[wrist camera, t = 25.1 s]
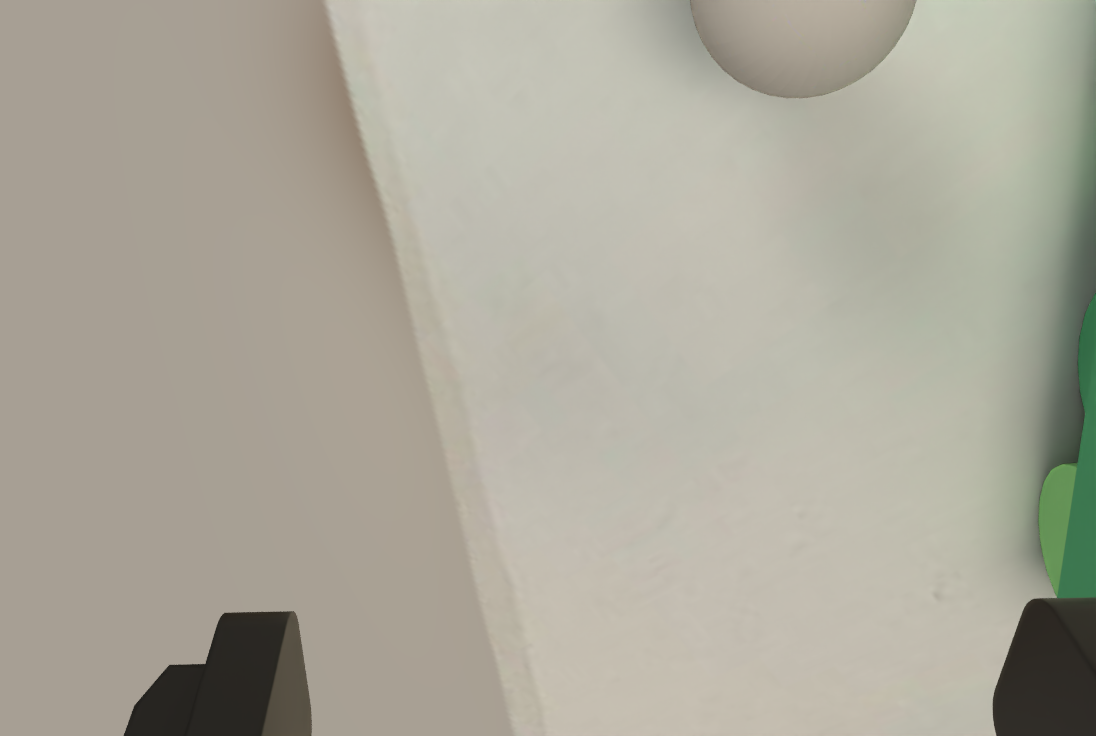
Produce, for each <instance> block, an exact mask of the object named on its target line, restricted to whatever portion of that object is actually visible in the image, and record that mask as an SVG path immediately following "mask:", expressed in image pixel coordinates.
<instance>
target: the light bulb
mask: <svg viewBox="0 0 1096 736" xmlns="http://www.w3.org/2000/svg"><path fill="white" fill-rule="evenodd" d="M690 1H691V10H692V14H693V18H694V22H695V26H696V28H697V31H698V33H699V35H700V38H701V40H702V42H703V44H704V45H705V47H706V49H707V50H708V52H709V53H710V55H711V57H712V58H713V59H714V60H715V61H716V62H717V63H718V64H719V66H720V67H721V68H722V69H723V70H724V71H725V72H727V73H728V74H729V75H730V76H732V77H733V78H734V79H735V80H737V81H738V82H740V83H742V84H744V85H745V86H747V87H749V88H751V89H753V90H756V91H759V92H762V93H764V94H767V95H772V96H778V97H784V98H808V97H814V96H820V95H824V94H828V93H831V92H834V91H837V90H840V89H842V88H844V87H846V86H848V85H850V84H852V83H854V82H856V81H857V80H859V79H860V78H862V77H863V76H865V75H866V74H868V73H869V72H871V71H872V70H873V69H874V68H875V67H876V66H877V65H878V64H879V63H880V62H881V61H883V60H884V59H885V57H886V56H887V55H888V54H889V53H890V51H891V50H892V49H893V48H894V47H895V45H896V44H897V42H898V41H899V39H900V37H901V36H902V34H903V32H904V31H905V29H906V27H907V25H908V22H909V20H910V18H911V16H912V14H913V10H914V7H915V3H916V0H690Z"/></svg>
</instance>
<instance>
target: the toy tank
mask: <svg viewBox="0 0 1096 736" xmlns="http://www.w3.org/2000/svg"><path fill="white" fill-rule="evenodd" d="M1078 373H1079V385H1080V394H1081V398H1082V402H1083V407H1084V411H1085V417H1084V424H1083V431H1082V437H1081V444H1080V450H1079V457H1078V463H1069V464H1061V465H1059V466H1057V467H1055V468H1053V469H1052V470H1051V471H1050V473H1049V474H1048V476H1047V478H1046V479H1045V481H1044V484H1043V488H1042V492H1041V496H1040V500H1039V520H1038V522H1039V532H1040V543H1041V549H1042V553H1043V557H1044V562H1045V566H1046V570H1047V573H1048V576H1049V578H1050V581H1051V584H1052V586H1053V589H1054V592H1055V594H1056V596H1057V598H1088V597H1096V293H1095V294H1094V296H1093V298H1092V300H1091V302H1090V304H1089V307H1088V309H1087V311H1086V313H1085V316H1084V320H1083V325H1082V329H1081V333H1080V337H1079V353H1078Z"/></svg>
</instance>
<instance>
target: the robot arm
mask: <svg viewBox="0 0 1096 736" xmlns="http://www.w3.org/2000/svg"><path fill="white" fill-rule="evenodd" d="M993 720H994V726H995V731H996V735H997V736H1096V597H1088V598H1040V599H1033V600H1031V601H1030V602H1028V603H1027V605H1026V606H1025V608H1024V610H1023V612H1022V615H1021V618H1020V621H1019V623H1018V626H1017V629H1016V632H1015V635H1014V638H1013V640H1012V643H1011V646H1010V649H1009V652H1008V654H1007V657H1006V660H1005V663H1004V666H1003V669H1002V671H1001V674H1000V677H999V680H998V683H997V685H996V688H995V692H994V697H993ZM311 723H312V720H311V705H310V698H309V691H308V685H307V678H306V671H305V664H304V657H303V650H302V644H301V637H300V631H299V624H298V619H297V616H296V613H295V612H294V611H293V612H292V611H291V612H246V613H245V612H243V613H224V614H223V615H222V616H221V618H220V620H219V622H218V624H217V627H216V631H215V634H214V637H213V640H212V644H211V647H210V650H209V654H208V657H207V661H206V664H192V665H169V666H168V667H167V668H166V670H165V671H164V672H163V673H162V674H161V675H160V676H159V678H158V679H157V680H156V681H155V682H154V684H153V685H152V686H151V687H150V688H149V689H148V690H147V692H146V693H145V694H144V695H143V696H142V697H141V699H140V700H139V701H138V702H137V703H136V705H135V706H134V709H133V711H132V714H131V717H130V720H129V722H128V725H127V728H126V731H125V733H124V736H311V733H312V726H311V725H312V724H311Z"/></svg>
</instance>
